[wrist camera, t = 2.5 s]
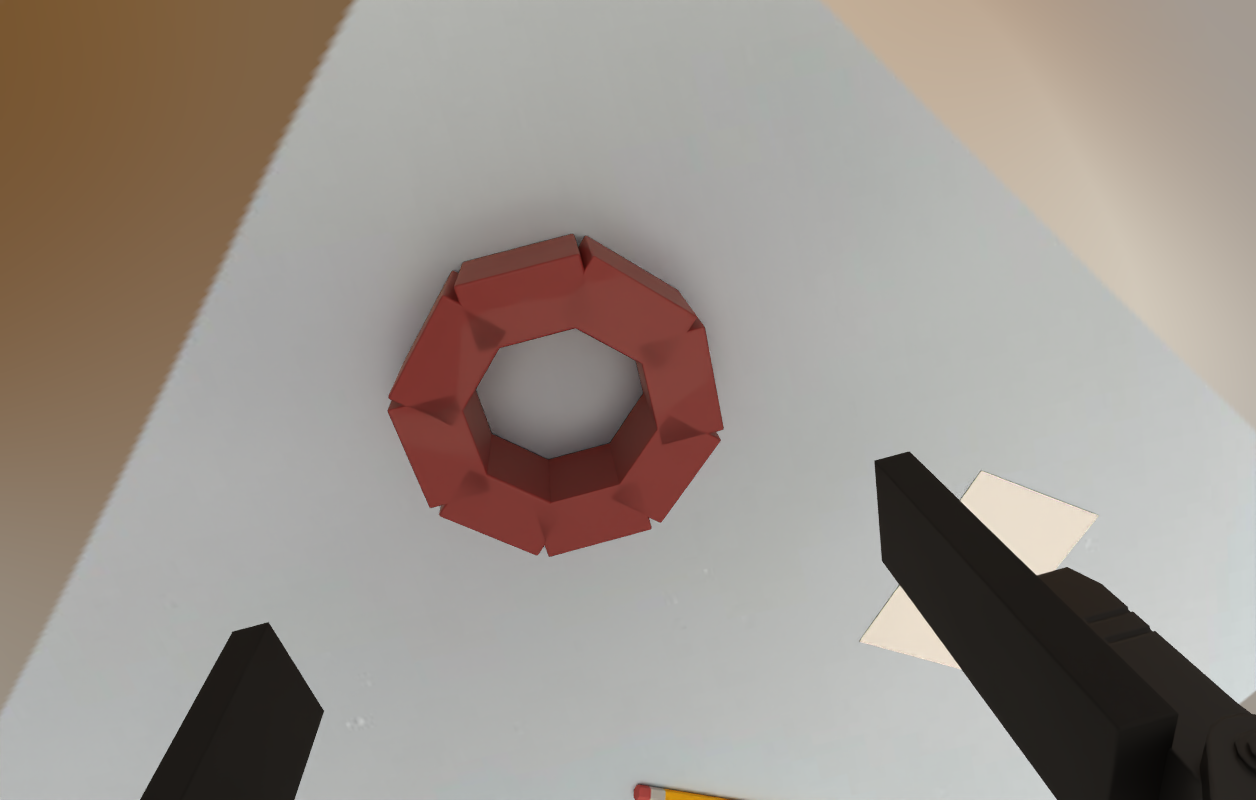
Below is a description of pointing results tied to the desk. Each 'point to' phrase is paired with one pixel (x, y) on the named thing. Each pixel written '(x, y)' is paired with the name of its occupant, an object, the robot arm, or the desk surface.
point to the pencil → (667, 794)
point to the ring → (578, 482)
